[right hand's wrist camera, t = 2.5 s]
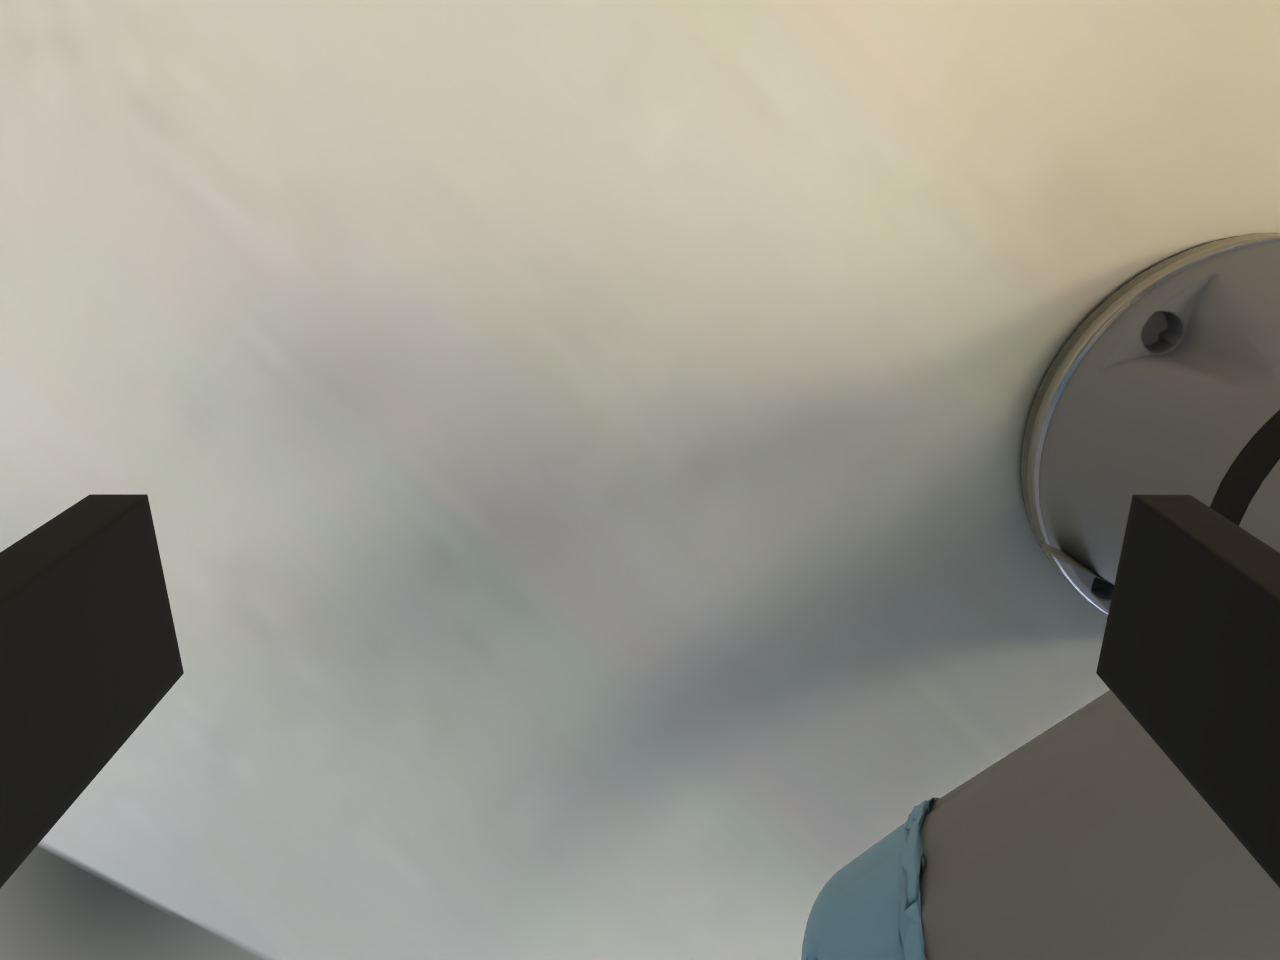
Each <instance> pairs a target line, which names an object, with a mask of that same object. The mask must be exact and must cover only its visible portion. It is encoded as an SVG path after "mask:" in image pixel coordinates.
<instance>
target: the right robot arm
mask: <svg viewBox="0 0 1280 960" xmlns="http://www.w3.org/2000/svg"><path fill="white" fill-rule="evenodd" d="M1021 484H1022V493H1023V499H1024V504H1025V508H1026V513H1027V516H1028V519H1029V522H1030V524H1031V527H1032V530H1033V532H1034V534H1035V536H1036V538H1037V540H1038V542H1039V544H1040V546H1041V548H1042V549H1043V551H1044V552H1045V554H1046V555H1047V557H1048V559H1049V560H1050V561H1051V562H1052V563H1053V565H1054V566H1055V567H1056V568H1057V569H1058V571H1059V572H1060V573H1061V574H1062V575H1063V576H1064V577H1065V578H1066V579H1067V580H1068V581H1069V582H1070V583H1071V584H1072V585H1073V586H1074V587H1075V588H1076V589H1077V590H1078V591H1079V592H1080V593H1081V594H1082V595H1083V596H1084V597H1085V598H1086V599H1087V600H1088V601H1089V602H1091V603H1092V604H1093V605H1095V606H1096V607H1097V608H1099V609H1100V610H1101V611H1103V612H1105V613H1106V614H1108V618H1107V623H1106V628H1105V633H1104V638H1103V643H1102V648H1101V653H1100V658H1099V663H1098V667H1097V672H1096V673H1097V674H1098V676H1099V677H1100V678H1101V679H1102V680H1103V681H1104V683H1105V684H1106V685H1107V686H1108V687H1109V689H1110V690H1109V691H1108V692H1106V693H1105V694H1103V695H1102V696H1100V697H1098V698H1097V699H1095V700H1094V701H1092V702H1091V703H1089V704H1087V705H1086V706H1084V707H1083V708H1081V709H1080V710H1078V711H1076V712H1075V713H1073V714H1072V715H1070V716H1069V717H1067V718H1066V719H1064V720H1062V721H1061V722H1059V723H1058V724H1056V725H1055V726H1053V727H1051V728H1050V729H1048V730H1047V731H1045V732H1044V733H1042V734H1040V735H1039V736H1037V737H1036V738H1034V739H1033V740H1031V741H1029V742H1028V743H1026V744H1025V745H1023V746H1022V747H1020V748H1018V749H1017V750H1015V751H1014V752H1012V753H1011V754H1009V755H1008V756H1006V757H1004V758H1003V759H1001V760H1000V761H998V762H997V763H995V764H993V765H992V766H990V767H989V768H987V769H986V770H984V771H982V772H981V773H979V774H978V775H976V776H975V777H973V778H971V779H970V780H968V781H967V782H965V783H964V784H962V785H960V786H959V787H957V788H956V789H954V790H953V791H951V792H950V793H948V794H946V795H945V796H943V797H942V798H940V799H939V798H932V799H930V800H928V801H924V802H922V803H921V804H919V805H918V806H915V807H914V808H913V810H912V812H911V813H910V815H909V818H908V821H907V822H905V823H904V824H903V825H901V826H900V827H899V828H897V829H896V830H894V831H893V832H892V833H890V834H889V835H887V836H886V837H885V838H883V839H882V840H881V841H879V842H878V843H876V844H875V845H874V846H872V847H871V848H869V849H868V850H867V851H865V852H864V853H863V854H861V855H860V856H858V857H857V858H856V859H854V860H853V861H851V862H850V863H849V864H847V865H846V866H845V867H843V868H842V869H840V870H839V871H838V872H837V873H836V874H835V875H834V876H833V877H832V878H831V879H830V880H829V881H828V882H827V883H826V885H825V886H824V888H823V889H822V890H821V892H820V893H819V895H818V897H817V899H816V900H815V902H814V905H813V907H812V909H811V912H810V915H809V918H808V921H807V926H806V930H805V935H804V940H803V946H802V959H801V960H1280V233H1264V234H1250V235H1244V236H1237V237H1231V238H1227V239H1223V240H1218V241H1214V242H1210V243H1207V244H1204V245H1201V246H1198V247H1195V248H1192V249H1190V250H1187V251H1185V252H1182V253H1180V254H1178V255H1176V256H1173V257H1171V258H1169V259H1166V260H1165V261H1163V262H1161V263H1159V264H1157V265H1155V266H1154V267H1152V268H1150V269H1148V270H1146V271H1145V272H1143V273H1142V274H1140V275H1139V276H1137V277H1136V278H1134V279H1133V280H1131V281H1130V282H1128V283H1127V284H1125V285H1124V286H1123V287H1121V288H1120V289H1119V290H1118V291H1116V292H1115V293H1114V294H1112V295H1111V296H1110V297H1109V298H1108V299H1106V300H1105V301H1104V302H1103V303H1102V304H1101V305H1100V306H1099V307H1098V308H1097V309H1096V310H1095V311H1093V312H1092V313H1091V314H1090V315H1089V317H1088V318H1087V319H1086V320H1085V321H1084V322H1083V323H1082V324H1081V325H1080V326H1079V328H1078V329H1077V330H1076V331H1075V332H1074V333H1073V335H1072V336H1071V337H1070V339H1069V340H1068V341H1067V343H1066V344H1065V345H1064V346H1063V348H1062V349H1061V351H1060V352H1059V354H1058V356H1057V357H1056V359H1055V360H1054V362H1053V363H1052V365H1051V366H1050V368H1049V370H1048V372H1047V374H1046V376H1045V378H1044V380H1043V382H1042V384H1041V386H1040V388H1039V390H1038V393H1037V395H1036V398H1035V400H1034V402H1033V405H1032V408H1031V412H1030V415H1029V418H1028V421H1027V425H1026V430H1025V435H1024V440H1023V446H1022V456H1021ZM183 673H184V672H183V667H182V663H181V658H180V653H179V648H178V643H177V638H176V633H175V628H174V623H173V618H172V614H171V609H170V604H169V599H168V594H167V589H166V584H165V579H164V574H163V569H162V564H161V560H160V555H159V550H158V545H157V540H156V535H155V530H154V525H153V520H152V515H151V510H150V506H149V501H148V496H147V495H89V496H87V497H85V498H84V499H82V500H81V501H79V502H78V503H76V504H75V505H73V506H72V507H70V508H68V509H67V510H65V511H64V512H62V513H61V514H59V515H58V516H56V517H55V518H53V519H52V520H50V521H48V522H47V523H45V524H44V525H42V526H41V527H39V528H38V529H36V530H35V531H33V532H32V533H30V534H28V535H27V536H25V537H24V538H22V539H21V540H19V541H18V542H16V543H15V544H13V545H11V546H10V547H8V548H7V549H5V550H4V551H2V552H1V553H0V888H1V887H2V886H3V884H4V883H5V882H6V881H7V880H8V879H9V877H10V876H11V875H12V874H13V873H14V872H15V870H16V869H17V868H18V867H19V866H20V865H21V863H22V862H23V861H24V860H25V859H26V857H27V856H28V855H29V854H30V853H31V852H32V850H33V849H34V848H35V847H36V846H37V845H38V843H39V842H40V841H41V840H42V839H43V838H44V836H45V835H46V834H47V833H48V832H49V831H50V829H51V828H52V827H53V826H54V825H55V823H56V822H57V821H58V820H59V819H60V818H61V816H62V815H63V814H64V813H65V812H66V811H67V809H68V808H69V807H70V806H71V805H72V804H73V802H74V801H75V800H76V799H77V798H78V796H79V795H80V794H81V793H82V792H83V791H84V789H85V788H86V787H87V786H88V785H89V784H90V782H91V781H92V780H93V779H94V778H95V777H96V775H97V774H98V773H99V772H100V771H101V769H102V768H103V767H104V766H105V765H106V764H107V762H108V761H109V760H110V759H111V758H112V757H113V755H114V754H115V753H116V752H117V751H118V750H119V748H120V747H121V746H122V745H123V744H124V743H125V741H126V740H127V739H128V738H129V737H130V735H131V734H132V733H133V732H134V731H135V730H136V728H137V727H138V726H139V725H140V724H141V723H142V721H143V720H144V719H145V718H146V717H147V716H148V714H149V713H150V712H151V711H152V710H153V708H154V707H155V706H156V705H157V704H158V703H159V701H160V700H161V699H162V698H163V697H164V696H165V694H166V693H167V692H168V691H169V690H170V689H171V687H172V686H173V685H174V684H175V683H176V681H177V680H178V679H179V678H180V677H181V676H182V674H183Z"/></svg>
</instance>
